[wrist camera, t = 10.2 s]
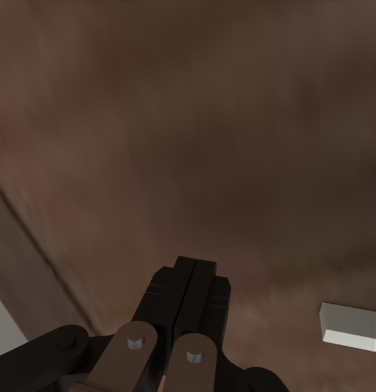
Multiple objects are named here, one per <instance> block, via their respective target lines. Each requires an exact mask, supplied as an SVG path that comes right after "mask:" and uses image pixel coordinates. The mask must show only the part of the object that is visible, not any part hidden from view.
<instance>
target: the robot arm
mask: <svg viewBox="0 0 376 392" xmlns="http://www.w3.org/2000/svg"><path fill="white" fill-rule="evenodd" d="M216 265H217V263H216V262H212V261H206V260H200V259H198V260H197V259H194V258H189V257H183V256H178V258H177V260H176V263H175V265H174V267H173V268H170V267H165V266H163V267H162V268H161V269H160V270H158V271H157V272H156V273H155V274H154V276H153V278H152V280H151V282H150V285H149V286H148V288H147V290H146V293H145V294H144V296H143V298H142V300H141V302H140V304H139V306H138V308H137V310H136V312H135V314H134V316H133V318H132V320H131V322H129V323H126V324H124V325H123V326H121V327H120V328H119V329H118V330H117V332H116V333H115V334H113V335H108V336H97V337H89V335H88V332H87V331H86V330H85V329H84V328H83V327H81V326H78V325H65V326H62V327H59V328H57V329H55V330H53V331H51V332H48V333H46V334H44V335H42V336H40V337H38V338H36V339H34V340H32V341H30V342H28V343H25V344H23V345H21V346H19V347H17V348H15V349H13V350H11V351H9V352H7V353H5V354H3V355H0V392H158V388H159V385H160V382H161V379H162V376H163V375H166V379H165V383H164V387H163V392H289V390H288V389H287V388H286V386H285V385H284V383H283V382H282V381H281V379H280V378H279V377H278V376H277V375H276V374H275V373H273V372H272V371H270V370H268V369H265V368H261V367H251V368H248V369H246V370H243V369H241V368H239V367H238V366H236V365H234V364H233V363H231V362H230V361H229V360H228V359H227V358H226V356H225V355H224V353H223V351H222V345H223V340H224V334H225V328H226V323H227V318H228V310H229V301H230V293H231V286H230V284H229V281H228V278H226V277H221V276H216Z"/></svg>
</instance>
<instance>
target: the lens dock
mask: <svg viewBox="0 0 376 392" xmlns="http://www.w3.org/2000/svg"><path fill="white" fill-rule="evenodd" d="M319 315H320V322H321V330H322V338H323V341H325V342H330V343H335V344H340V345H345V346H350V347H355V348H360V349H365V350H370V351H375V352H376V312H374V311H368V310H363V309H357V308H352V307H346V306H341V305H335V304H330V303H324V302H322V305H321V309H320V312H319Z"/></svg>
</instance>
